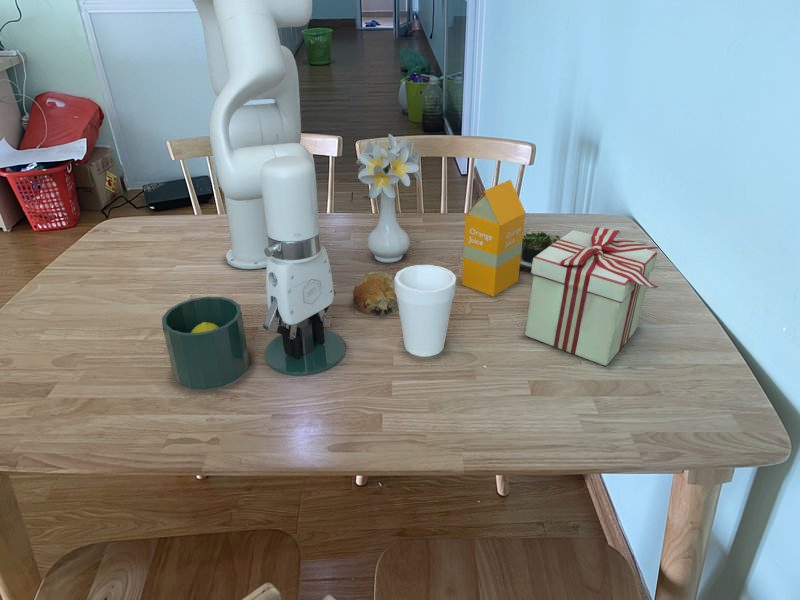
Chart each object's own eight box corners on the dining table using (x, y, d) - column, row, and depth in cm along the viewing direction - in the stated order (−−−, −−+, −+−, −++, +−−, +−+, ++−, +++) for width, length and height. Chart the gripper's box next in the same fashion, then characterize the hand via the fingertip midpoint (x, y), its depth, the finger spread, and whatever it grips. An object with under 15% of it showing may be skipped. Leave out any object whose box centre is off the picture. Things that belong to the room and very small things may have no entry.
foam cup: (412, 371, 93) (412, 297, 87) (385, 342, 100) (384, 272, 94) (464, 354, 97) (467, 283, 91) (434, 328, 104) (436, 260, 98)
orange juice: (461, 284, 119) (465, 186, 109) (486, 269, 124) (493, 175, 115) (494, 296, 114) (502, 195, 104) (519, 281, 120) (529, 183, 110)
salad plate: (483, 240, 137) (484, 222, 135) (556, 233, 141) (558, 215, 138) (515, 278, 121) (517, 257, 119) (597, 269, 124) (600, 249, 122)
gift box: (633, 376, 92) (656, 275, 83) (520, 341, 101) (530, 246, 92) (658, 327, 104) (680, 235, 96) (556, 299, 113) (568, 212, 105)
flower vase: (359, 278, 121) (354, 155, 109) (360, 241, 137) (356, 130, 125) (423, 276, 122) (426, 154, 109) (417, 240, 138) (419, 130, 126)
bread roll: (410, 317, 115) (416, 275, 114) (393, 321, 105) (400, 275, 104) (362, 309, 117) (367, 268, 117) (341, 312, 108) (347, 267, 107)
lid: (315, 326, 105) (312, 295, 102) (361, 356, 97) (360, 323, 94) (250, 354, 98) (245, 321, 95) (294, 389, 89) (290, 355, 86)
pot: (227, 342, 101) (218, 289, 96) (262, 371, 93) (254, 315, 89) (162, 368, 94) (149, 313, 89) (194, 402, 87) (182, 344, 82)
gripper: (267, 271, 80) (281, 382, 89) (352, 232, 91) (357, 333, 100) (231, 256, 84) (248, 364, 93) (317, 220, 96) (325, 319, 104)
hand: (304, 347), depth 96 cm, fingers open, 4 cm apart
